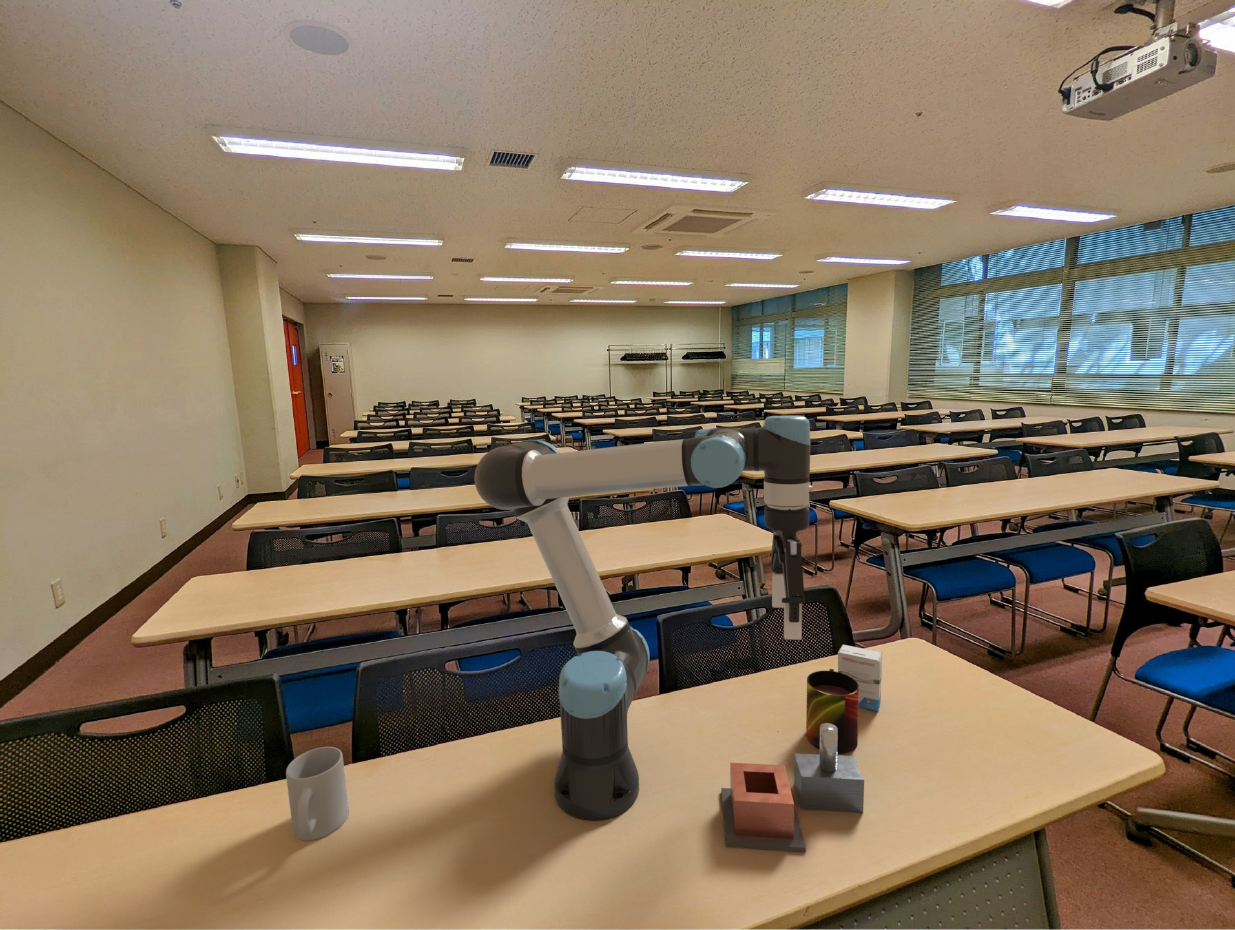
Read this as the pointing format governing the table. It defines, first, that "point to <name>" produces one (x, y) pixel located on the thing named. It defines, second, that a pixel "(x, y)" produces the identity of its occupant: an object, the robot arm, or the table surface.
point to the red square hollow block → (761, 801)
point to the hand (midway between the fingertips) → (785, 621)
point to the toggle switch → (828, 777)
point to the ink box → (863, 673)
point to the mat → (758, 842)
